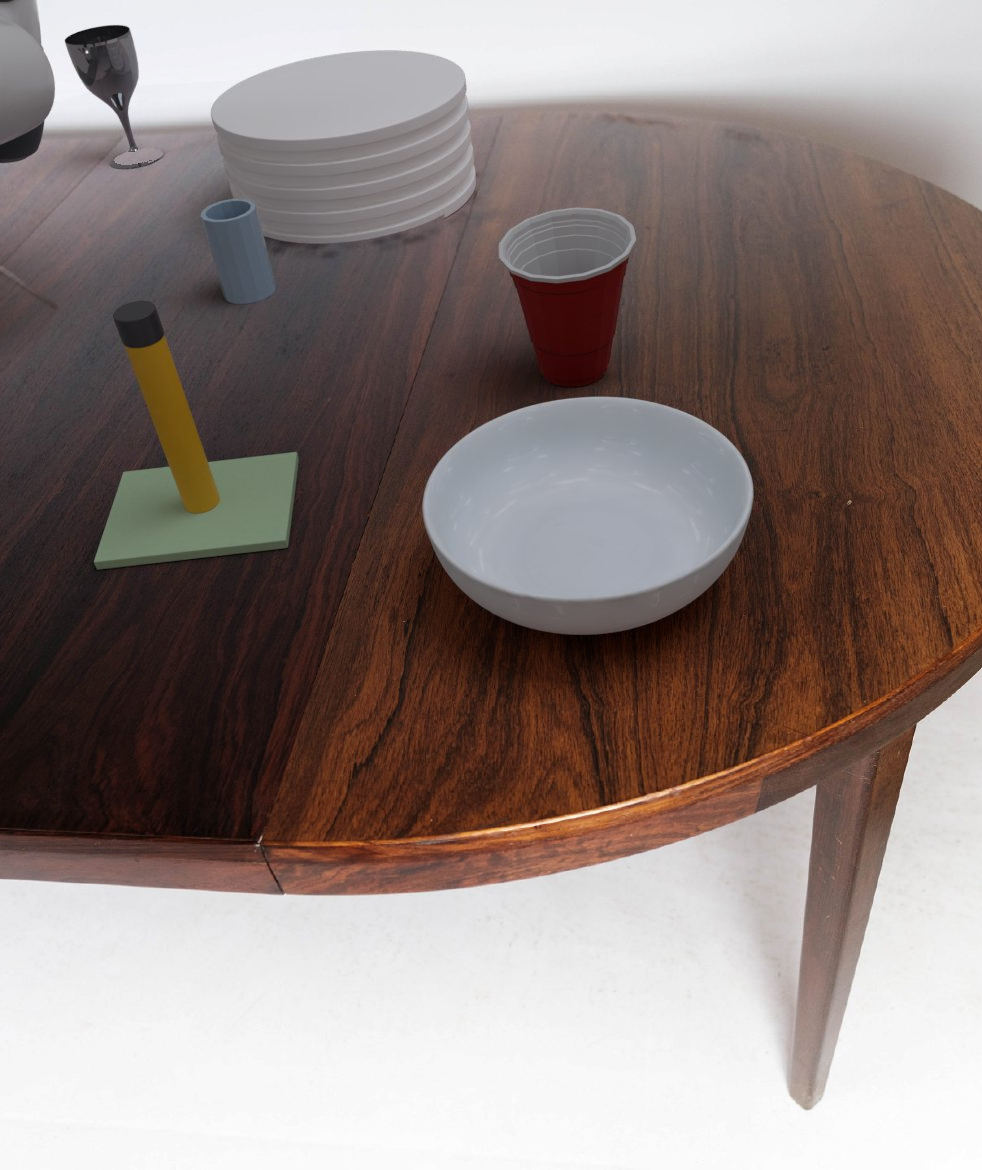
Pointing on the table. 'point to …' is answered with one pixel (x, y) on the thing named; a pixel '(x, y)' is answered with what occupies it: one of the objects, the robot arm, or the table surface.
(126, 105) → the wine glass
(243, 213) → the pen pot
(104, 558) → the felt mat
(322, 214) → the plate stack
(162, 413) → the marker
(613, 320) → the plastic cup
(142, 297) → the table surface
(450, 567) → the serving bowl
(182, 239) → the table surface
